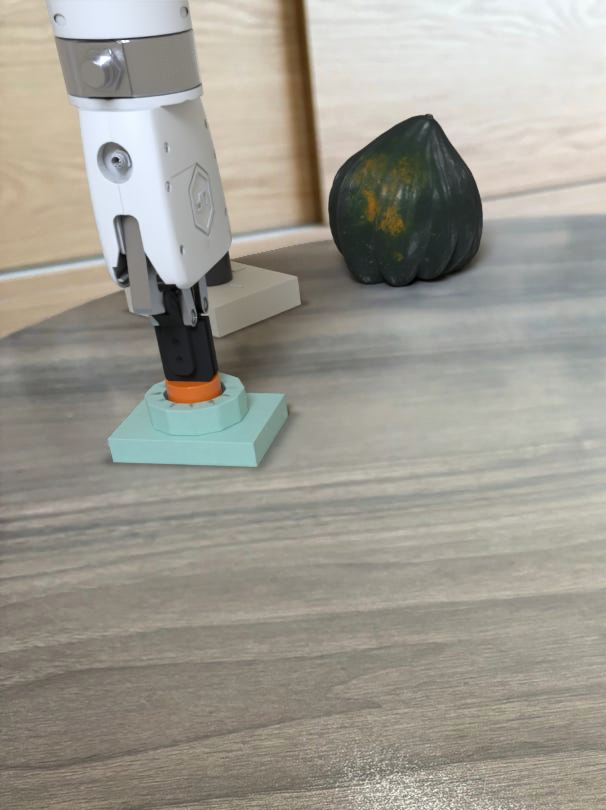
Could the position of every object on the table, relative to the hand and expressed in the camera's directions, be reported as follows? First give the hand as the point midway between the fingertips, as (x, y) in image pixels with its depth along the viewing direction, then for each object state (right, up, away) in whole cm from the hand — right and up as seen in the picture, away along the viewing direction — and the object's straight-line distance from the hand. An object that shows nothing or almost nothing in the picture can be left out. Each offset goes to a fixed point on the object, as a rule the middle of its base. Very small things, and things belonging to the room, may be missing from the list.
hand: (192, 377), depth 69 cm
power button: (0, -1, +1) cm, 2 cm away
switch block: (0, -4, +3) cm, 5 cm away
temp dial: (-5, +15, +23) cm, 28 cm away
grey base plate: (-5, +12, +25) cm, 28 cm away
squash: (+12, +18, +32) cm, 39 cm away
